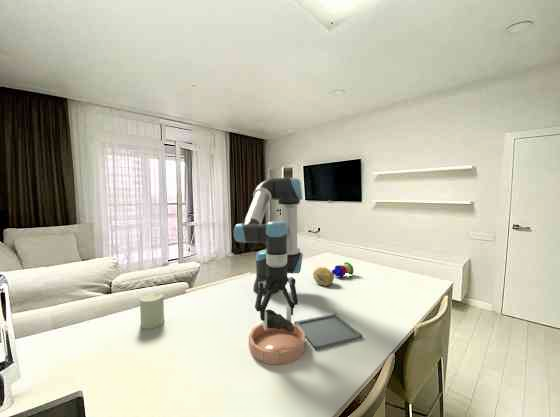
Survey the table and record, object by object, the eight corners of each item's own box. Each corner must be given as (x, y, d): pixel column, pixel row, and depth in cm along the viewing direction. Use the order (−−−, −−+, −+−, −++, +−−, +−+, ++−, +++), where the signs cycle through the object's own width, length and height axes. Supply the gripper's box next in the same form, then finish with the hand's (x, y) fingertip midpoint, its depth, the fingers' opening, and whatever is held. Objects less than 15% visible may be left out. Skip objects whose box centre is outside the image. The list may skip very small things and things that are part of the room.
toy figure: (340, 283, 158) (356, 275, 165) (339, 270, 156) (356, 263, 163) (331, 277, 166) (347, 270, 173) (330, 265, 164) (346, 258, 171)
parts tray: (294, 324, 103) (294, 321, 103) (335, 316, 110) (335, 313, 110) (315, 350, 86) (315, 346, 86) (362, 338, 93) (362, 335, 93)
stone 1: (288, 338, 81) (288, 322, 81) (257, 325, 89) (257, 311, 89) (298, 329, 87) (298, 314, 87) (268, 318, 95) (268, 304, 94)
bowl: (244, 336, 95) (244, 326, 94) (291, 326, 102) (291, 317, 101) (257, 371, 76) (257, 358, 76) (314, 356, 83) (314, 344, 83)
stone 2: (336, 284, 149) (336, 268, 149) (324, 288, 143) (325, 271, 143) (321, 279, 159) (321, 264, 159) (310, 282, 153) (310, 266, 153)
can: (169, 319, 108) (168, 293, 107) (152, 330, 99) (151, 301, 98) (153, 316, 111) (152, 290, 110) (135, 326, 102) (134, 298, 101)
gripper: (250, 270, 80) (250, 337, 81) (308, 264, 87) (308, 325, 88) (245, 264, 87) (245, 326, 88) (299, 259, 94) (299, 316, 95)
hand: (277, 326), depth 88 cm, fingers closed on stone 1, 8 cm apart
